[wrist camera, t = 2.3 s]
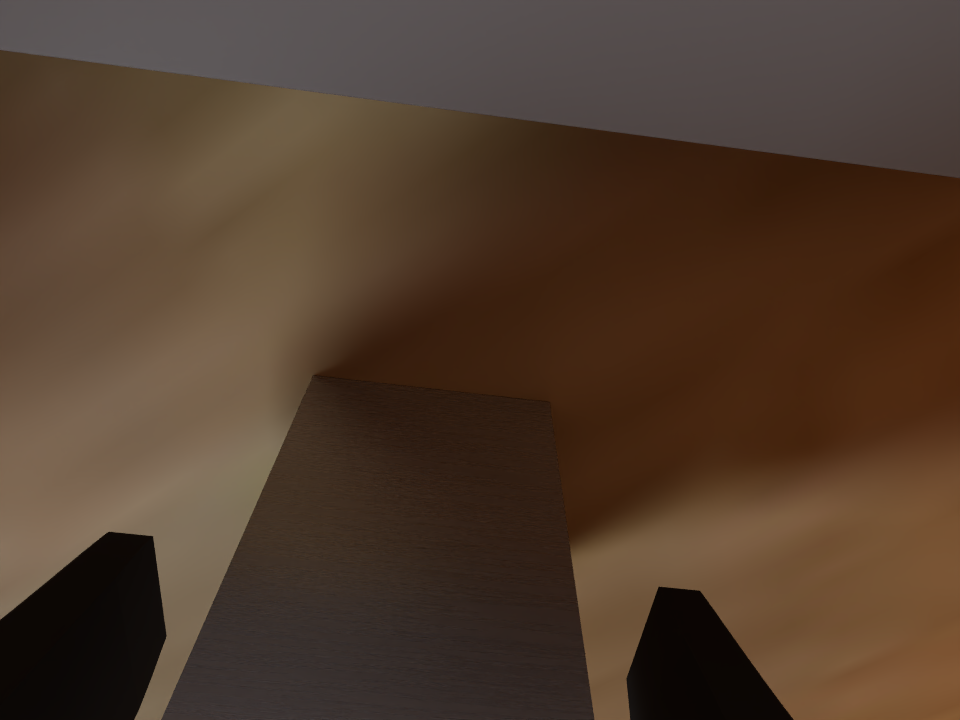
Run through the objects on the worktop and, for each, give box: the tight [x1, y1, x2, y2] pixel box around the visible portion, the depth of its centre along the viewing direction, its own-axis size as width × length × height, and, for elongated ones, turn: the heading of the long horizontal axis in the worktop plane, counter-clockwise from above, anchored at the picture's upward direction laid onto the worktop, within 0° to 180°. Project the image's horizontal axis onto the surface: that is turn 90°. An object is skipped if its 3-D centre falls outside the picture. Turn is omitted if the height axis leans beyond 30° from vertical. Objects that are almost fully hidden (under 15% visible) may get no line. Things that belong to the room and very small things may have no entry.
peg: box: [161, 376, 594, 720], centre depth 9 cm, size 4×4×8 cm
